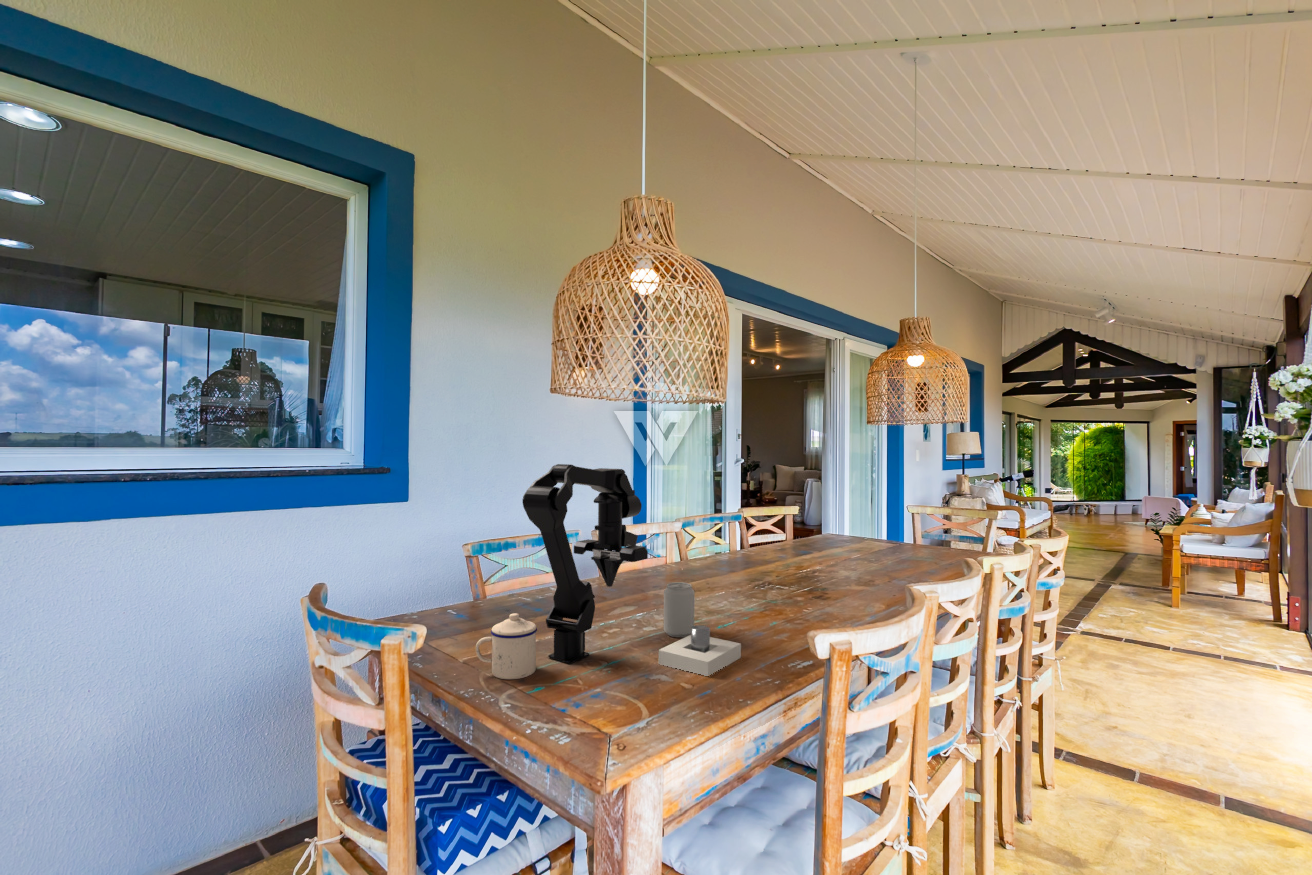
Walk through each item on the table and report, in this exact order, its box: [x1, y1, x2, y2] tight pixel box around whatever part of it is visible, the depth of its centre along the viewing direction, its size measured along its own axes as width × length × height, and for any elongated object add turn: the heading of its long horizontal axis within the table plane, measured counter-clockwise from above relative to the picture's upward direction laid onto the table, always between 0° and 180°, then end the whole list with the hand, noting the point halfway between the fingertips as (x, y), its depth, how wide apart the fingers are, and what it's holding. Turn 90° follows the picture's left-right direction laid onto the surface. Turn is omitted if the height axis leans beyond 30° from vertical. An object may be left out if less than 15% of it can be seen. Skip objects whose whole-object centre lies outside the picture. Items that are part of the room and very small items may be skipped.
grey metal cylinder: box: [691, 624, 711, 653], centre depth 134 cm, size 4×4×7 cm
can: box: [663, 581, 696, 638], centre depth 152 cm, size 8×8×12 cm
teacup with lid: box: [475, 612, 538, 680], centre depth 126 cm, size 12×9×12 cm
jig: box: [658, 635, 742, 677], centre depth 134 cm, size 14×12×3 cm
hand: (609, 586), depth 149 cm, fingers closed
